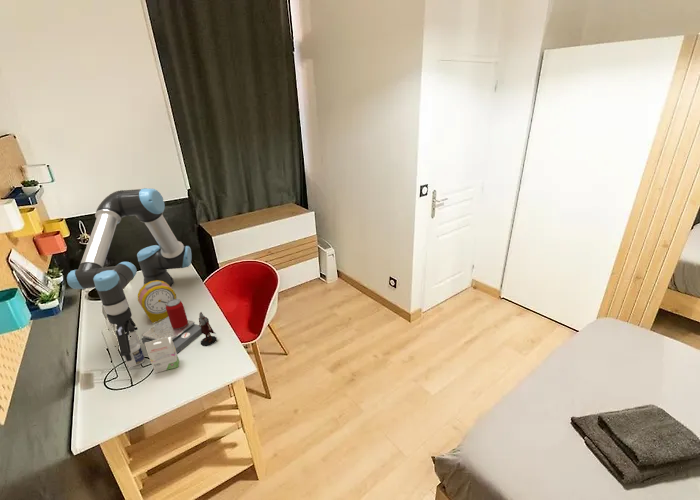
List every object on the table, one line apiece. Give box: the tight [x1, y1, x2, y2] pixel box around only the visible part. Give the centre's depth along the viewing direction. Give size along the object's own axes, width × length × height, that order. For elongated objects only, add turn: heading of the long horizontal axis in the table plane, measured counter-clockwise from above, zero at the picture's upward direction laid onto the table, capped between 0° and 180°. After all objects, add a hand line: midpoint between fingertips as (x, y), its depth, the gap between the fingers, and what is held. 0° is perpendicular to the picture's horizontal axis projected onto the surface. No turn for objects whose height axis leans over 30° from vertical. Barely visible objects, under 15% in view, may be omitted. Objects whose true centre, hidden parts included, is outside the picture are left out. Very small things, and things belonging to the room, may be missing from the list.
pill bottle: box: [129, 339, 146, 367], centre depth 141 cm, size 5×5×10 cm
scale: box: [140, 323, 203, 354], centre depth 156 cm, size 16×20×3 cm
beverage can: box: [166, 298, 189, 328], centre depth 155 cm, size 7×7×12 cm
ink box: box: [144, 337, 180, 374], centre depth 137 cm, size 9×5×15 cm, turn 110°
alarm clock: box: [137, 280, 177, 324], centre depth 169 cm, size 15×8×18 cm, turn 131°
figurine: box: [198, 311, 217, 347], centre depth 150 cm, size 7×7×15 cm
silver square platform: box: [141, 317, 195, 340], centre depth 156 cm, size 15×15×2 cm
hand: (134, 355), depth 142 cm, fingers open, 13 cm apart
